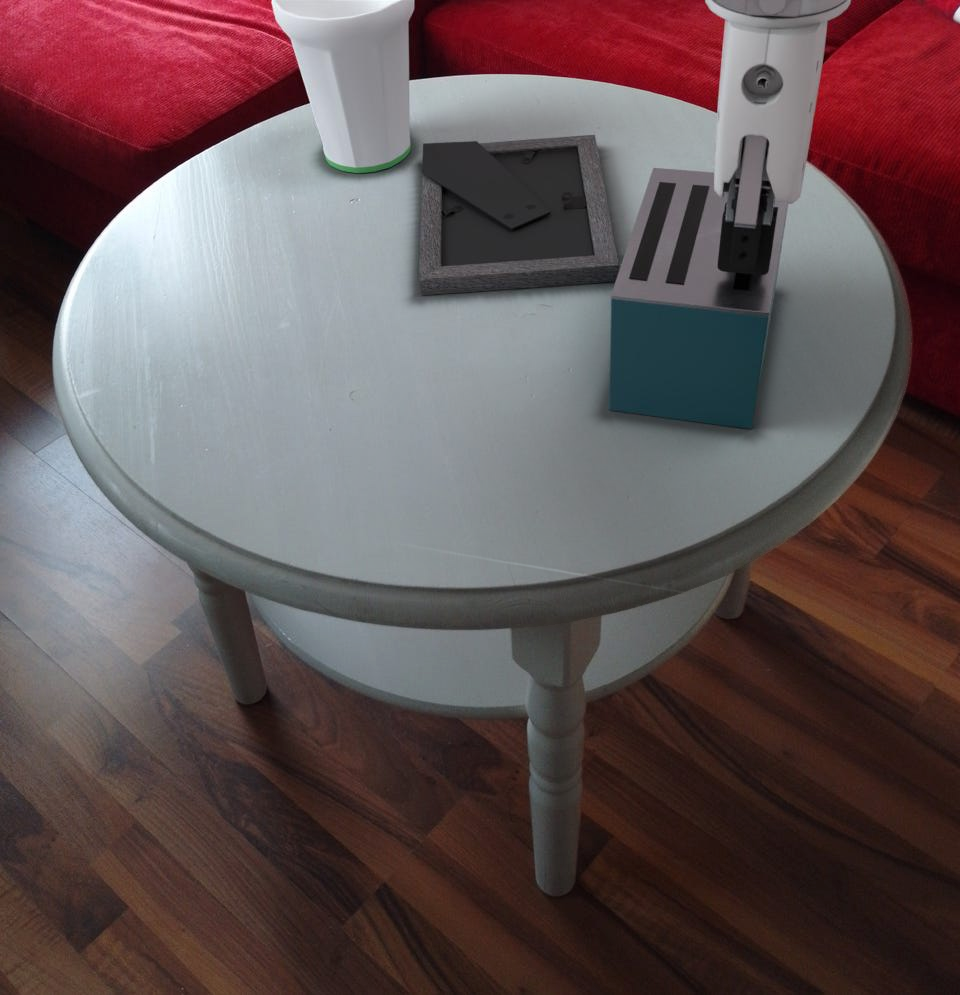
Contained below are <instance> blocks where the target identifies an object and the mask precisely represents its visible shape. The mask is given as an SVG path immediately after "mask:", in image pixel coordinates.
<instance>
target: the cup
mask: <svg viewBox="0 0 960 995" xmlns="http://www.w3.org/2000/svg"><path fill="white" fill-rule="evenodd" d="M271 6H272V11H273V15H274V18H275V22H276V23H277V25H278V26H279V27H280V28H281V29H282V31H283V33H285V34H286V36H287V37H288V38H289V39H290V42H291V45H292V49H293V52H294V56H295V58H296V63H297V64H298V68H299V71H300V74H301V77H302V81H303V84H304V87H305V91H306V95H307V97H308V100H309V103H310V107H311V110H312V111H311V112H312V114H313V117H314V120H315V123H316V127H317V130H318V133H319V136H320V139H321V143H322V148H323V149H322V150H323V155H324V158H325V160H326V162H327V163H328V165H330V166H331V167H333V168H334V169H336V170H340V171H342V172H346V173H351V174H353V173H354V174H366V173H367V174H368V173H375V172H380V171H383V170H386V169H390V168H392V167H394V166H395V165H397V164H400V162H402V161H404V159H405V158H407V156H408V155H409V153H410V152H411V148H412V145H411V136H410V135H411V126H410V125H411V122H410V120H411V118H410V117H411V114H410V113H411V112H410V110H411V109H410V43H409V42H410V37H409V32H410V31H409V21H410V20H411V17H412V15H413V13H414V11H415V0H271Z"/></svg>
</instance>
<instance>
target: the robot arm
mask: <svg viewBox="0 0 960 995" xmlns="http://www.w3.org/2000/svg"><path fill="white" fill-rule="evenodd" d="M851 2H852V0H704V3H705V5H706V6H707V8H708V10H710V11H711V12H712V13H713V14H715V15H716V16H718V17H720V18H721V19H723V20H724V29H723V39H722V50H721V60H720V62H721V63H720V73H719V85H718V96H717V112H716V125H715V126H716V127H715V128H716V129H715V144H714V145H715V147H714V168H713V170H714V171H713V173H714V191H715V192H716V193H717V195H719V196H720V197H721V198H723V197H724V194H728V196H727V203H725V208H724V212H723V216H722V226H721V236H720V245H719V255H718V265H717V267H718V269H719V270H720V271H723V272H733V273H743V274H754V275H766V274H767V273H768V271H769V266H770V260H771V254H772V247H773V240H774V233H775V226H776V219H777V212H778V207H774V204H775V198H776V200H777V201H779V202H788V205H792V204H795V202H797V201H798V200H799V199H800V197H801V195H802V189H803V184H804V178H805V173H806V172H805V171H806V166H807V160H808V154H809V149H810V144H811V138H812V131H813V125H814V117H815V113H816V106H817V101H818V95H819V88H820V83H821V75H822V70H823V61H824V56H825V48H826V40H827V31H828V21H831V20H833V19H835V18H838V17H839V16H840V15H842V14H843V13H844V12H846V10H847V9H849V6H850V5H851Z"/></svg>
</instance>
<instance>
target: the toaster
mask: <svg viewBox="0 0 960 995" xmlns="http://www.w3.org/2000/svg"><path fill="white" fill-rule="evenodd" d="M727 196H728V194H724V197H723V198H721V197H720V196H719V195H717V193H716V192H715V191H714V171H713V172H711V171H700V170H686V169H675V168H662V167H652V170H651V173H650V177H649V179H648V182H647V185H646V189H645V192H644V195H643V198H642V200H641V204H640V207H639V210H638V213H637V216H636V219H635V221H634V225H633V228H632V231H631V233H630V236H629V240H628V243H627V246H626V249H625V251H624V255H623V258H622V261H621V264H620V266H619V267H620V268H619V273H618V276H617V279H616V282H614V286H613V287H612V288H613V289H612V291H611V295H610V333H609V334H610V337H609V338H610V340H609V390H608V410H609V411H612V412H620V413H628V414H635V415H636V414H637V415H643V416H650V417H658V418H665V419H674V420H680V421H688V422H693V423H694V422H696V423H702V424H709V425H710V424H711V425H718V426H725V427H733V428H739V429H747V430H752V429H753V425H754V419H755V413H756V407H757V403H758V402H757V401H758V396H759V390H760V384H761V379H762V371H763V365H764V360H765V355H766V347H767V342H768V336H769V331H770V323H771V319H772V318H771V317H772V314H773V312H772V311H773V308H774V307H773V306H774V301H775V300H774V299H775V293H776V287H777V283H778V282H777V281H778V275H779V269H780V261H781V255H782V248H783V243H784V242H783V241H784V236H785V235H784V234H785V228H786V222H787V221H786V220H787V215H788V209H789V204H788V202H779V201H777V200H776V198H775V204H774V207H778V212H777V219H776V226H775V233H774V240H773V247H772V254H771V260H770V266H769V271H768V273H767V274H766V275H754V274H743V273H733V272H723V271H720V270H719V269H718V267H717V265H718V255H719V245H720V236H721V226H722V216H723V212H724V208H725V203H727Z"/></svg>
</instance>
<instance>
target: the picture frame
mask: <svg viewBox="0 0 960 995" xmlns="http://www.w3.org/2000/svg"><path fill="white" fill-rule="evenodd" d="M421 163H422V165H421V168H422V169H421V172H422V179H421V180H422V182H421V212H420V213H421V214H420V215H421V216H420V238H419V239H420V242H419V268H418V283H419V290H420V296H430V295H431V296H433V295H447V294H460V293H474V292H475V293H476V292H487V291H490V292H491V291H503V290H515V289H516V290H517V289H530V288H532V289H533V288H545V287H559V286H570V285H571V286H574V285H587V284H602V283H615V282H616V279H617V276H618V273H619V270H620V268H619V267H620V264H619V259H618V253H617V248H616V243H615V236H614V231H613V225H612V220H611V216H610V215H611V214H610V209H609V204H608V199H607V198H608V197H607V194H606V188H605V182H604V176H603V172H602V171H603V170H602V165H601V161H600V154H599V150H598V144H597V139H596V134H584V135H571V136H570V135H569V136H558V137H545V138H532V139H530V138H529V139H517V140H506V141H492V142H491V141H490V142H478V141H477V140H473V141H470V140H469V141H468V140H467V141H449V142H447V141H445V142H425V143H422V162H421Z"/></svg>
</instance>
